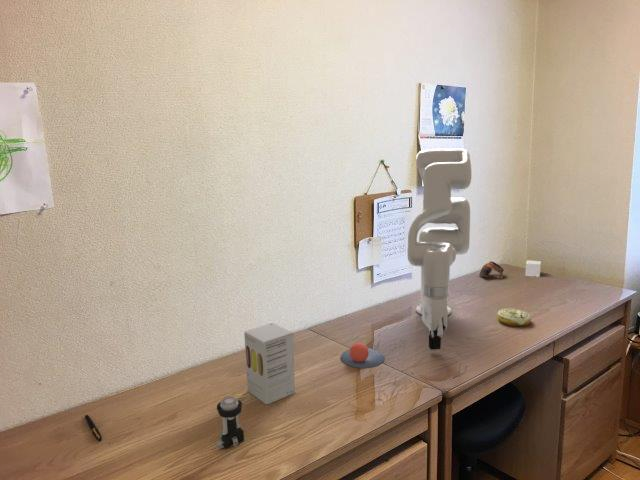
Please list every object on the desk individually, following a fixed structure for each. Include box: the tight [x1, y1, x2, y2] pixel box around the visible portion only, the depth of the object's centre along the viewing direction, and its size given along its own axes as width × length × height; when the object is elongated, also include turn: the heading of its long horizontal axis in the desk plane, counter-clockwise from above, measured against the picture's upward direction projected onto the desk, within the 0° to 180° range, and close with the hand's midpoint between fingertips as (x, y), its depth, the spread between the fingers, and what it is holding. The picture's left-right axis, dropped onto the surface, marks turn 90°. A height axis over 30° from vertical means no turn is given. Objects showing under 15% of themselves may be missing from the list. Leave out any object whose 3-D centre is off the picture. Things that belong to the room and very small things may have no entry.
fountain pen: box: [84, 413, 102, 442], centre depth 113 cm, size 14×1×2 cm, turn 38°
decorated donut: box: [497, 308, 532, 327], centre depth 168 cm, size 10×11×4 cm
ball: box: [349, 342, 369, 362], centre depth 141 cm, size 6×6×6 cm
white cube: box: [524, 259, 542, 278], centre depth 223 cm, size 6×6×6 cm
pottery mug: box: [479, 260, 505, 279], centre depth 220 cm, size 12×10×8 cm
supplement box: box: [243, 322, 296, 405], centre depth 125 cm, size 10×9×17 cm
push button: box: [214, 396, 245, 450], centre depth 104 cm, size 7×5×10 cm
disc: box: [340, 347, 385, 369], centre depth 144 cm, size 13×13×1 cm
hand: (434, 348), depth 146 cm, fingers closed
